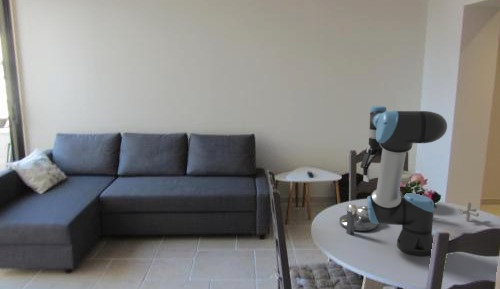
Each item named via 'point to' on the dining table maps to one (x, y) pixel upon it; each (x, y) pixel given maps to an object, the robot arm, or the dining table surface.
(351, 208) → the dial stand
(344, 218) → the turntable
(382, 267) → the dining table surface
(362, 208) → the cover
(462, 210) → the pipe connector
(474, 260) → the dining table surface
